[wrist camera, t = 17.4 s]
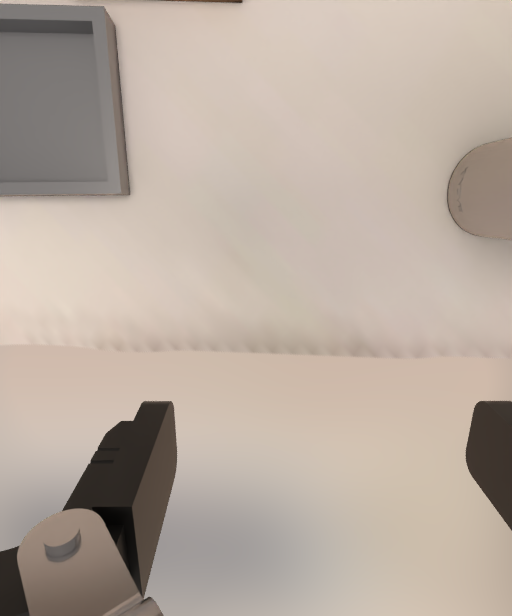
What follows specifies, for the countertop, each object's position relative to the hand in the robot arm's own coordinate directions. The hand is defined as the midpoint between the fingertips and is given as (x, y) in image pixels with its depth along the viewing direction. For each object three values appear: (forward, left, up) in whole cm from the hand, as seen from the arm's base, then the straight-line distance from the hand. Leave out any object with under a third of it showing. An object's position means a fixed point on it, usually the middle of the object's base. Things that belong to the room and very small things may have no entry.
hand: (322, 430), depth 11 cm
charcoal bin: (+18, -14, -31) cm, 38 cm away
